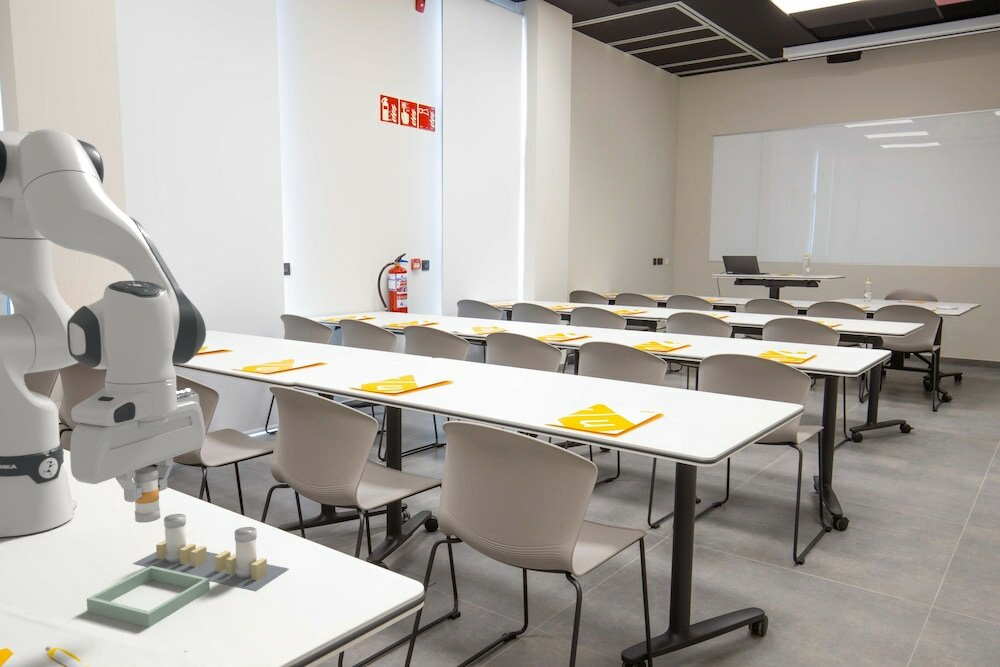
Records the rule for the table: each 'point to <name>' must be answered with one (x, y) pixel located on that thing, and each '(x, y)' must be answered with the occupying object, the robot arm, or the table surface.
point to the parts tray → (133, 615)
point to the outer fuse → (245, 550)
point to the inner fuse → (174, 536)
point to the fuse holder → (214, 566)
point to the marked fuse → (147, 495)
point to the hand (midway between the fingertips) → (146, 495)
